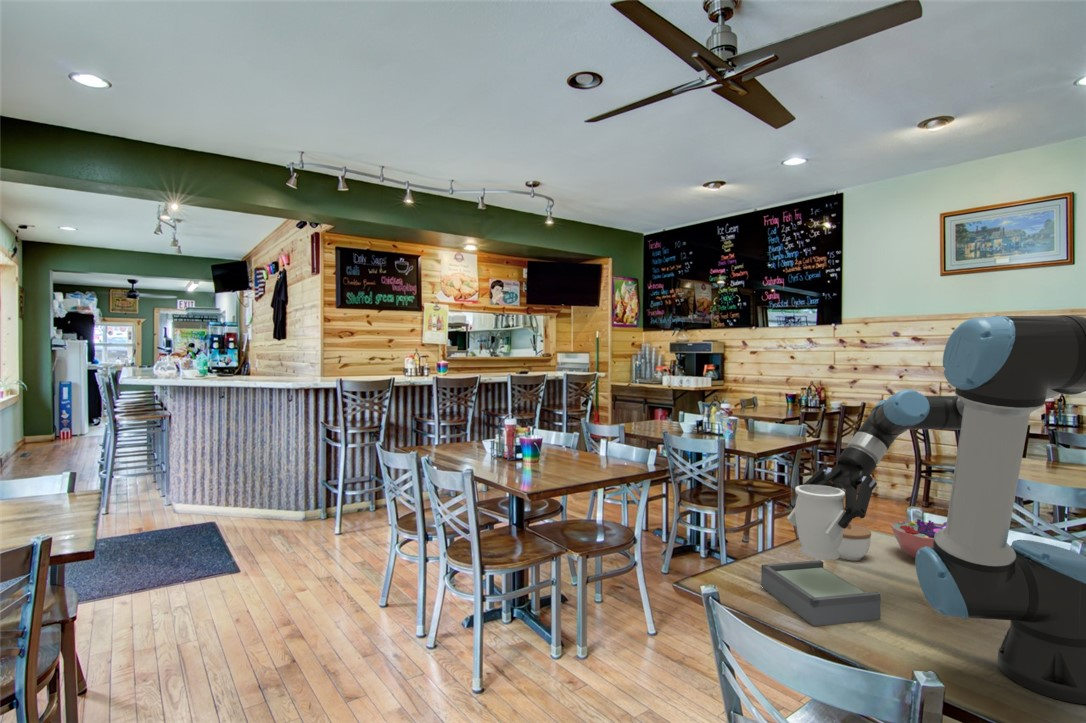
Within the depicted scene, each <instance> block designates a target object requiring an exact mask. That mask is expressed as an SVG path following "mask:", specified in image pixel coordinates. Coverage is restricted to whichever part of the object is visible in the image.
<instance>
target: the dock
mask: <svg viewBox="0 0 1086 723" xmlns="http://www.w3.org/2000/svg"><path fill="white" fill-rule="evenodd" d="M760 570H761V571H760V572H761V573H760V576H761V584H760V585H761V586H762V587H763V588H764V591H766V590H767V591H768V592H767V591H766V592H767V593H769V594H770V593H771V594H772V595H771V594H770V595H771V596H773V597H774V598H775V597H776V598H775V599H776V600H778V601H779V602H781V603H782V604H783V605H785V606H786V607H787V608H788V609H790V610H792V611H793V612H794V613H795V614H796V615H798V616H799V617H800V618H802V619H804V620H805V622H807V623H808V624H810V625H811V626H813V627H818V626H819V627H820V626H827V625H839V624H848V623H859V622H868V621H869V622H870V621H878V620H881V617H882V616H881V614H882V612H881V608H882V606H881V605H882V604H881V601H882V598H881V597H882V594H881V593H880V592H878V591H871V592H866V591H864V590H862V589H861V588H859V587H857V586H855V585H854V584H852V583H850V582H848V581H847V580H845V579H843V578H841V577H840V576H838V575H836V574H835V573H833V572H831V571H829V570H828V569H826V568H825V567H824V560H819V559H815V560H807V561H806V560H805V561H794V562H782V563H781V562H780V563H767V564H761V569H760ZM762 587H761V588H762ZM763 588H762V589H763Z"/></svg>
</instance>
